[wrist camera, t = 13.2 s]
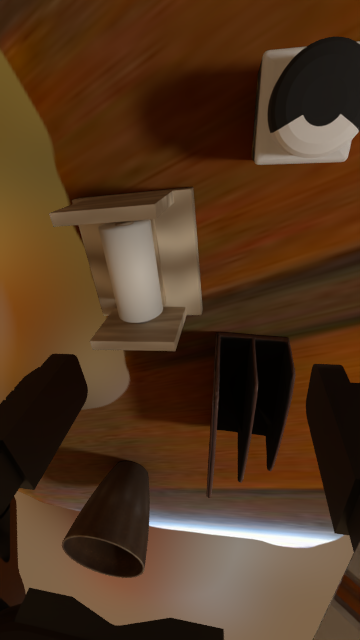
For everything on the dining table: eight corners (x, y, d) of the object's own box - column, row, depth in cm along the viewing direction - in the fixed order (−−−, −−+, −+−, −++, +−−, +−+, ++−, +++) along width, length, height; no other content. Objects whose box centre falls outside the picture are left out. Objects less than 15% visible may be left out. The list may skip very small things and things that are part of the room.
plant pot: (112, 489, 69) (82, 573, 56) (88, 449, 62) (46, 533, 49) (172, 491, 65) (154, 582, 52) (153, 449, 58) (127, 540, 45)
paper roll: (111, 218, 34) (88, 230, 29) (156, 215, 32) (140, 228, 28) (128, 301, 39) (111, 322, 35) (167, 301, 38) (155, 324, 33)
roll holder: (77, 198, 35) (29, 214, 27) (193, 187, 32) (177, 202, 24) (107, 310, 43) (77, 349, 35) (202, 309, 40) (193, 351, 32)
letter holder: (210, 423, 52) (202, 507, 40) (216, 330, 42) (207, 405, 30) (268, 431, 50) (277, 520, 39) (289, 336, 40) (310, 418, 28)
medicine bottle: (257, 70, 26) (269, 26, 16) (343, 62, 25) (413, 10, 15) (251, 160, 30) (257, 170, 20) (325, 157, 29) (371, 166, 19)
